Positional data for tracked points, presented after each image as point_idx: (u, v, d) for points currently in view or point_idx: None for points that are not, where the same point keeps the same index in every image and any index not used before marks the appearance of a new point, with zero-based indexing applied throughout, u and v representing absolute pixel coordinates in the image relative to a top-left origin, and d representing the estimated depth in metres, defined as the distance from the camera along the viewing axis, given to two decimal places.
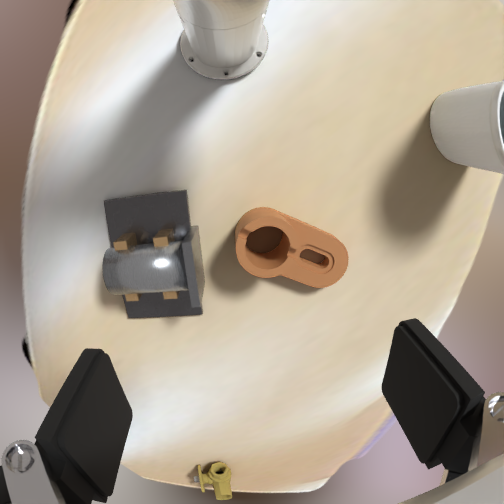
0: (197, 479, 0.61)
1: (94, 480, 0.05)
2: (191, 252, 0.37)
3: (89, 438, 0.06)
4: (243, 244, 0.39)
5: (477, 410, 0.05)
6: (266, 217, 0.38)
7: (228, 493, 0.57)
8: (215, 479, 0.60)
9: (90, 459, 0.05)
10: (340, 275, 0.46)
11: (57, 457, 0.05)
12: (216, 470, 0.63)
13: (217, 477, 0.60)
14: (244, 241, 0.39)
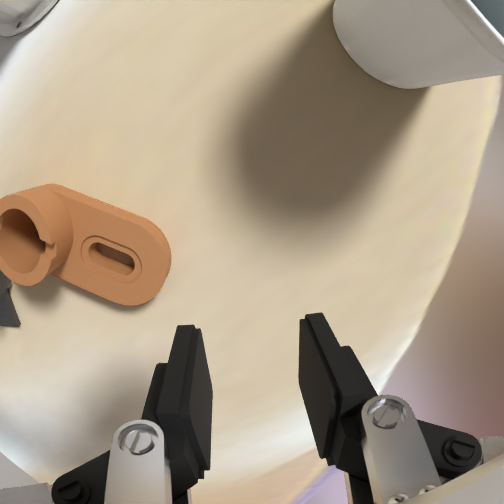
0: None
1: (202, 453, 0.06)
2: None
3: (198, 409, 0.07)
4: None
5: None
6: (8, 196, 0.19)
7: None
8: None
9: (200, 431, 0.07)
10: (157, 287, 0.27)
11: (174, 432, 0.06)
12: None
13: None
14: None
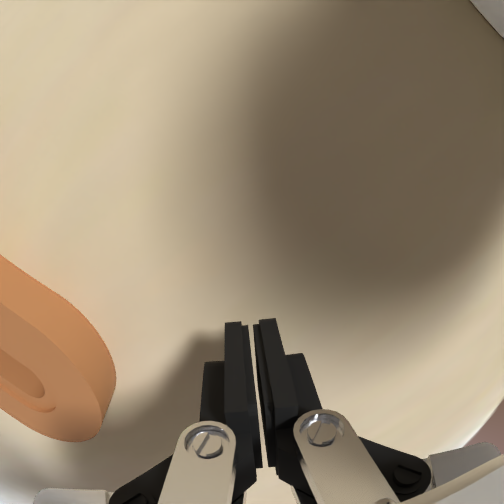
0: None
1: None
2: None
3: None
4: None
5: None
6: None
7: None
8: None
9: None
10: (89, 431, 0.11)
11: (239, 430, 0.06)
12: None
13: None
14: None
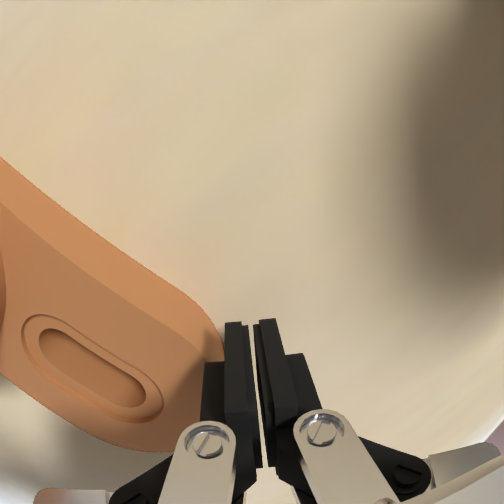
0: None
1: None
2: None
3: None
4: None
5: None
6: None
7: None
8: None
9: None
10: None
11: (239, 431, 0.06)
12: None
13: None
14: None
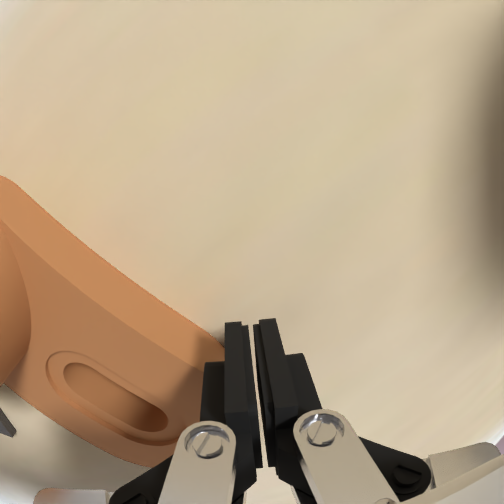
0: None
1: None
2: None
3: None
4: None
5: None
6: None
7: None
8: None
9: None
10: None
11: (239, 431, 0.06)
12: None
13: None
14: None
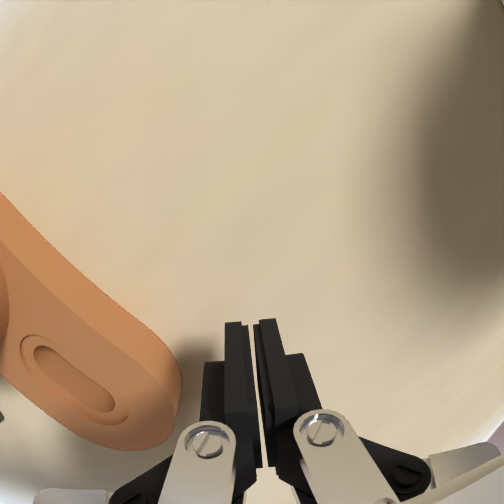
0: None
1: None
2: None
3: None
4: None
5: None
6: None
7: None
8: None
9: None
10: (148, 444, 0.13)
11: (239, 431, 0.06)
12: None
13: None
14: None
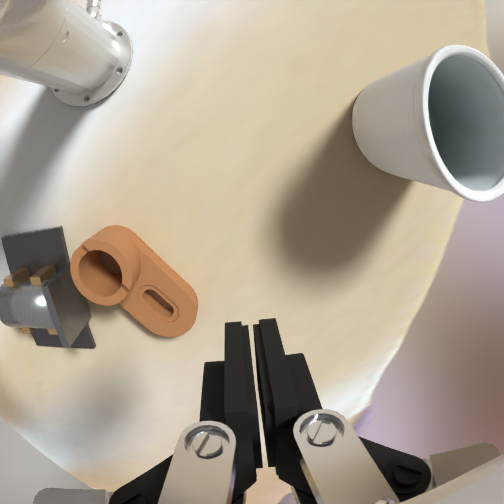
0: None
1: None
2: (50, 296, 0.31)
3: None
4: (78, 259, 0.31)
5: None
6: (105, 242, 0.31)
7: None
8: None
9: None
10: (182, 331, 0.40)
11: (239, 431, 0.06)
12: None
13: None
14: (79, 257, 0.31)
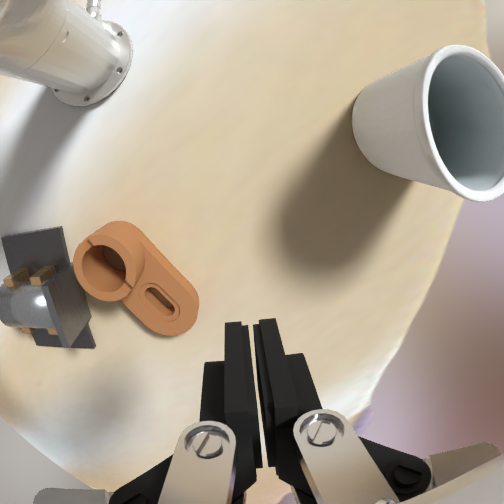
0: None
1: None
2: (50, 296, 0.31)
3: None
4: (82, 253, 0.31)
5: None
6: (111, 237, 0.31)
7: None
8: None
9: None
10: (181, 331, 0.40)
11: (239, 431, 0.06)
12: None
13: None
14: (83, 251, 0.31)
